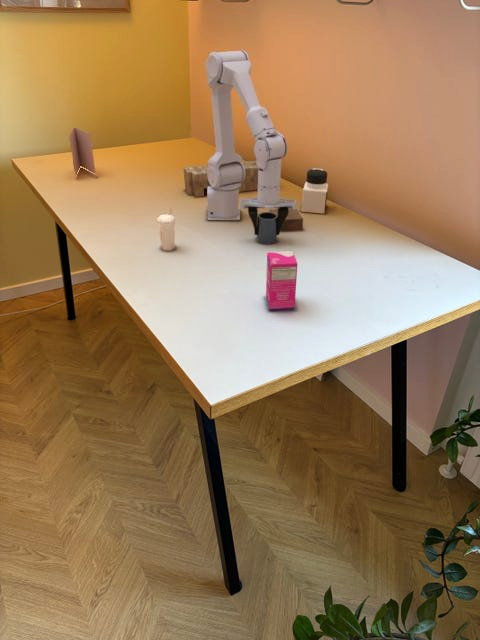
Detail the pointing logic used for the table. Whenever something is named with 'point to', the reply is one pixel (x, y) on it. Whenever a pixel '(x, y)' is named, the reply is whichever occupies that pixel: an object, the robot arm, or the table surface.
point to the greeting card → (82, 152)
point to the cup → (267, 227)
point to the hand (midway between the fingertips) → (266, 233)
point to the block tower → (199, 182)
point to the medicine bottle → (315, 192)
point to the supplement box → (281, 280)
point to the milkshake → (167, 231)
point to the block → (291, 220)
